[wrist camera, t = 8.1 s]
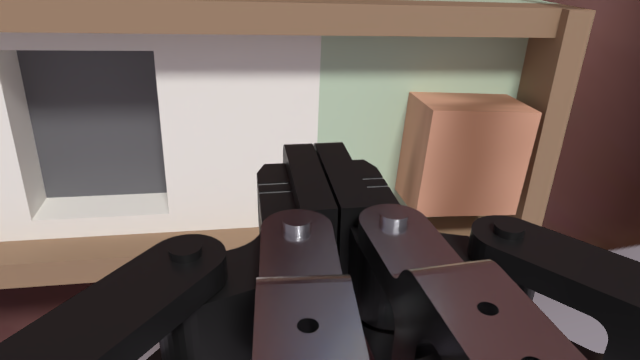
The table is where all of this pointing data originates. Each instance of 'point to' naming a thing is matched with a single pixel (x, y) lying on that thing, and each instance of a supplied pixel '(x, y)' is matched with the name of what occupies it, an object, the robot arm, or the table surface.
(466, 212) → the block
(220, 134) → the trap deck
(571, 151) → the table surface
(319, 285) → the robot arm
